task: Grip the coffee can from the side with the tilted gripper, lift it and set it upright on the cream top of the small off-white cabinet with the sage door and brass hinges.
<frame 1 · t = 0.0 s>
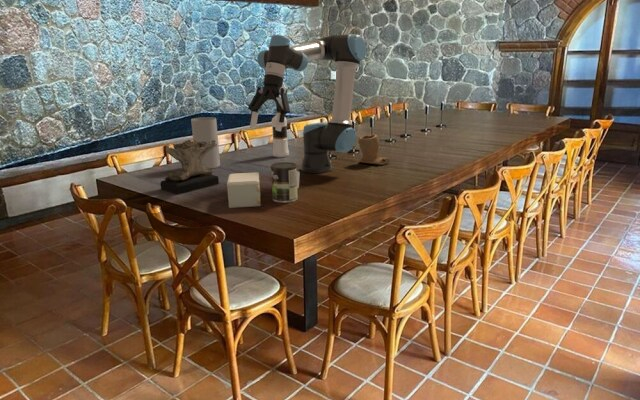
hand: (265, 129, 198), 28 cm above the table, tool tilted 20°, fingers open, 13 cm apart
coffee can: (285, 199, 203), on the table
cylinder vase: (208, 167, 264), on the table
coral: (197, 187, 225), on the table
vodka: (281, 156, 285), on the table
shot glass: (292, 188, 220), on the table
cabinet: (245, 201, 201), on the table
stone cup: (372, 164, 260), on the table
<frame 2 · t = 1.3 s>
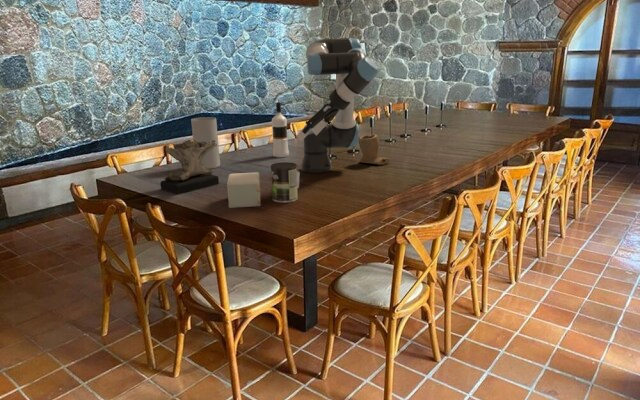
hand: (306, 135, 191), 26 cm above the table, tool tilted 45°, fingers open, 13 cm apart
nothing on the table moved.
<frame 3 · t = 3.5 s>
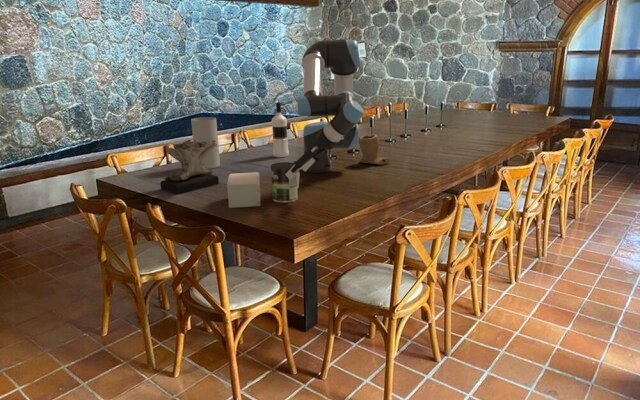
hand: (295, 172, 197), 11 cm above the table, tool tilted 45°, fingers open, 13 cm apart
nothing on the table moved.
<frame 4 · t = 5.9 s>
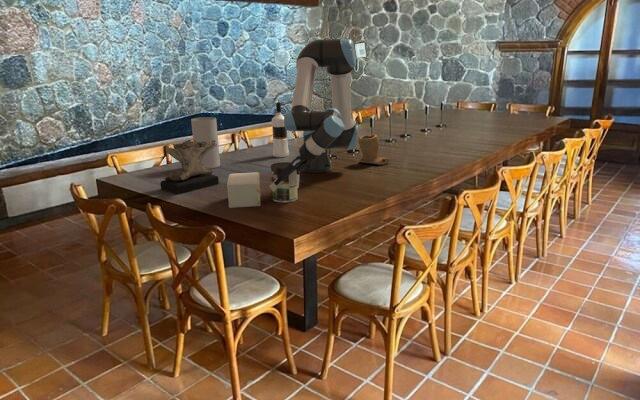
hand: (277, 185, 203), 5 cm above the table, tool tilted 45°, fingers closed on coffee can, 10 cm apart
coffee can: (285, 199, 203), on the table, touching gripper
everything else where it was.
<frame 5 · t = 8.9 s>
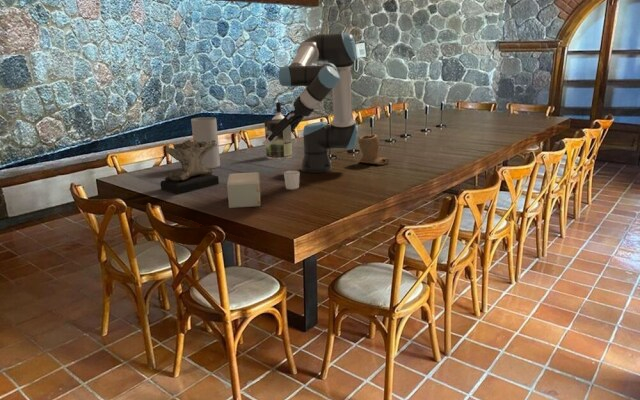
hand: (271, 142, 197), 23 cm above the table, tool tilted 45°, fingers closed on coffee can, 10 cm apart
coffee can: (279, 157, 197), point 17 cm above the table, touching gripper
everything else where it was.
when the fingers open (17 cm above the table, at t = 11.9 s): coffee can drops 1 cm, resting on cabinet.
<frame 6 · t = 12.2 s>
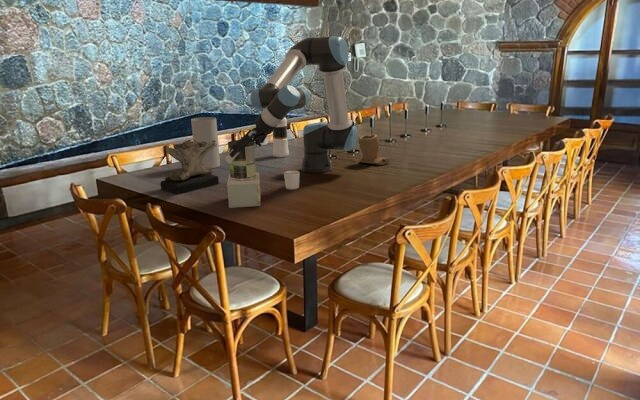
hand: (237, 157, 197), 18 cm above the table, tool tilted 45°, fingers open, 13 cm apart
coffee can: (243, 177, 198), point 10 cm above the table, touching cabinet
everything else where it was.
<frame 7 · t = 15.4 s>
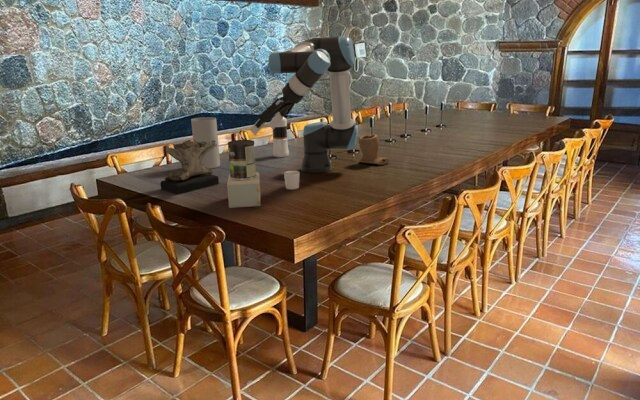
hand: (262, 129, 189), 29 cm above the table, tool tilted 45°, fingers open, 13 cm apart
nothing on the table moved.
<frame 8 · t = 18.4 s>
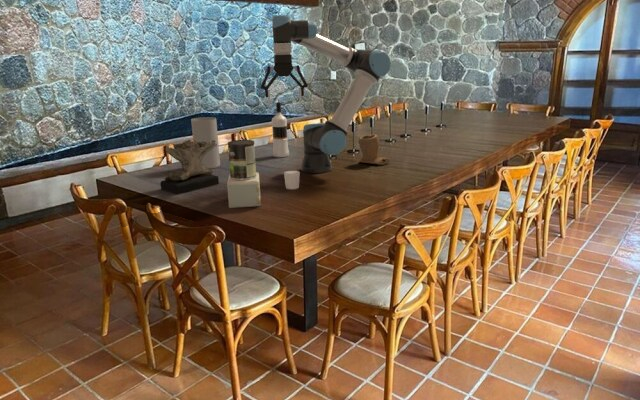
hand: (285, 104, 220), 35 cm above the table, tool pointing down, fingers open, 13 cm apart
nothing on the table moved.
at the end: coffee can inside the target area on the cabinet (0.3 cm from its centre), point 9.8 cm above the cabinet's base; coffee can tilted 0°; the gripper is holding nothing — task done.
